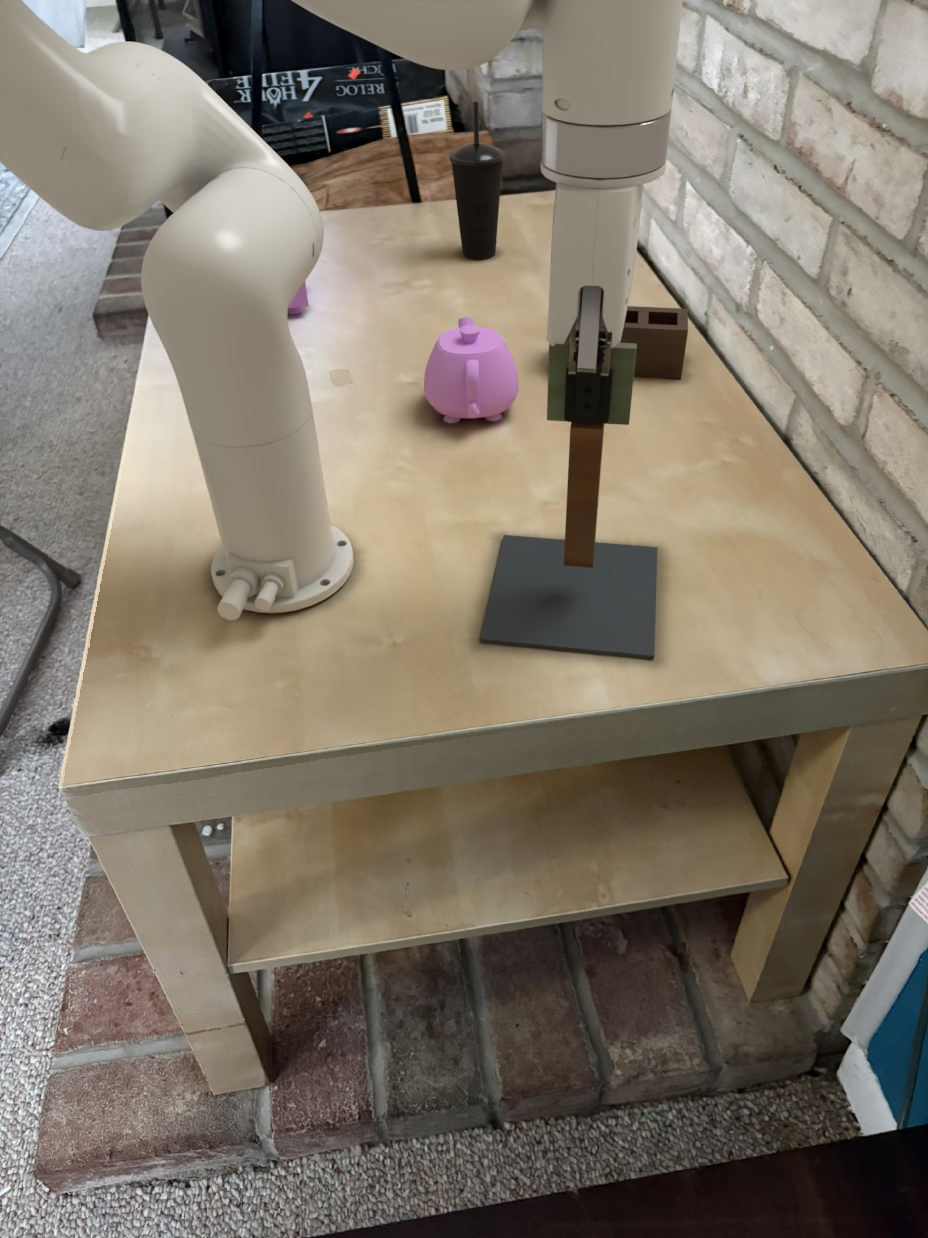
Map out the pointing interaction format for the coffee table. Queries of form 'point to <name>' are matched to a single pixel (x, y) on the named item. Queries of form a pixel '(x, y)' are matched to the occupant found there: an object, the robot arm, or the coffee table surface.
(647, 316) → the rack
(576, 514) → the spatula
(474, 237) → the drinking cup
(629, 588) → the mat
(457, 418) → the teapot
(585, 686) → the coffee table surface
